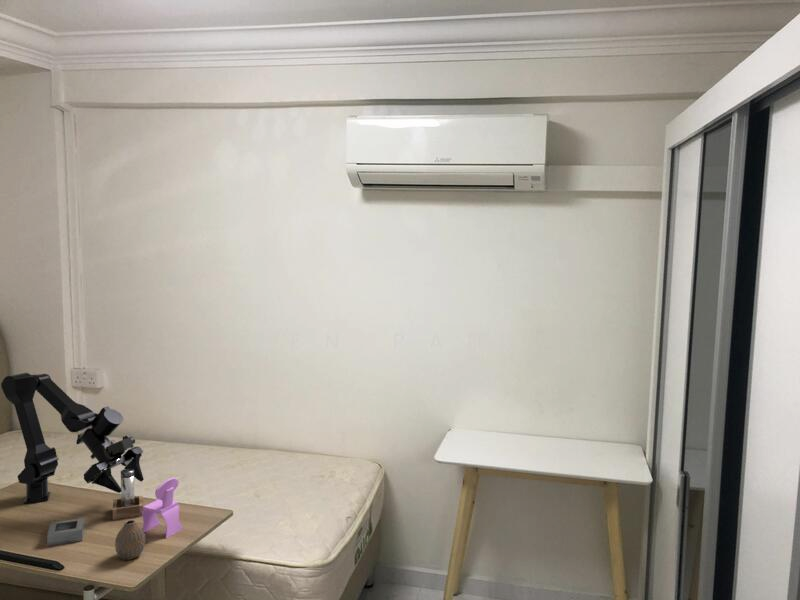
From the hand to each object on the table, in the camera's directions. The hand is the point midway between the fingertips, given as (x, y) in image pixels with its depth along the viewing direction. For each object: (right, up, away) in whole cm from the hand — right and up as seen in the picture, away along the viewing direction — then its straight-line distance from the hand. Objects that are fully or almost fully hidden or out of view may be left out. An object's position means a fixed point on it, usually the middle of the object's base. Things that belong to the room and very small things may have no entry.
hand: (131, 486), depth 175 cm
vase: (+11, -10, -25) cm, 29 cm away
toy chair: (+13, -9, -11) cm, 19 cm away
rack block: (-1, -8, +1) cm, 8 cm away
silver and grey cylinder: (-2, -8, +1) cm, 8 cm away
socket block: (-11, -9, -15) cm, 21 cm away
